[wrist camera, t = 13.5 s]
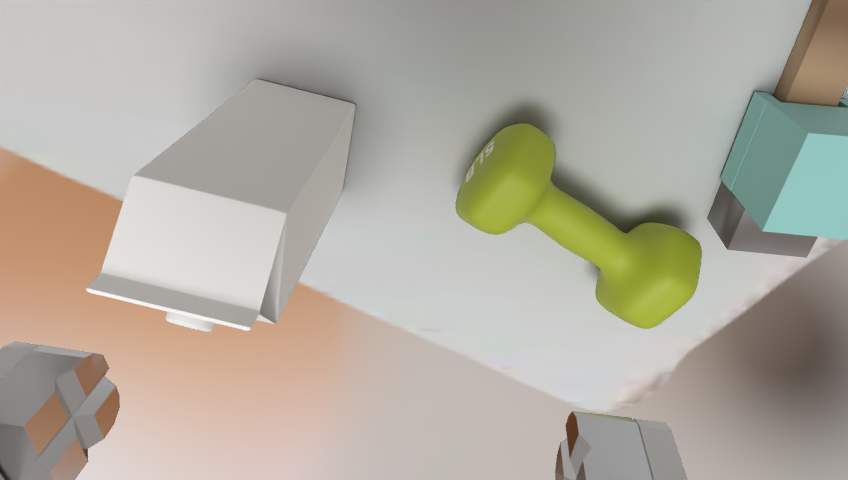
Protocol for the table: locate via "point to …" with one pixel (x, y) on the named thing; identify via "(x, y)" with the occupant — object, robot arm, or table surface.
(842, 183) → the block
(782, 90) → the rail
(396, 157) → the table surface
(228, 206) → the milk carton
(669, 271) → the dumbbell
